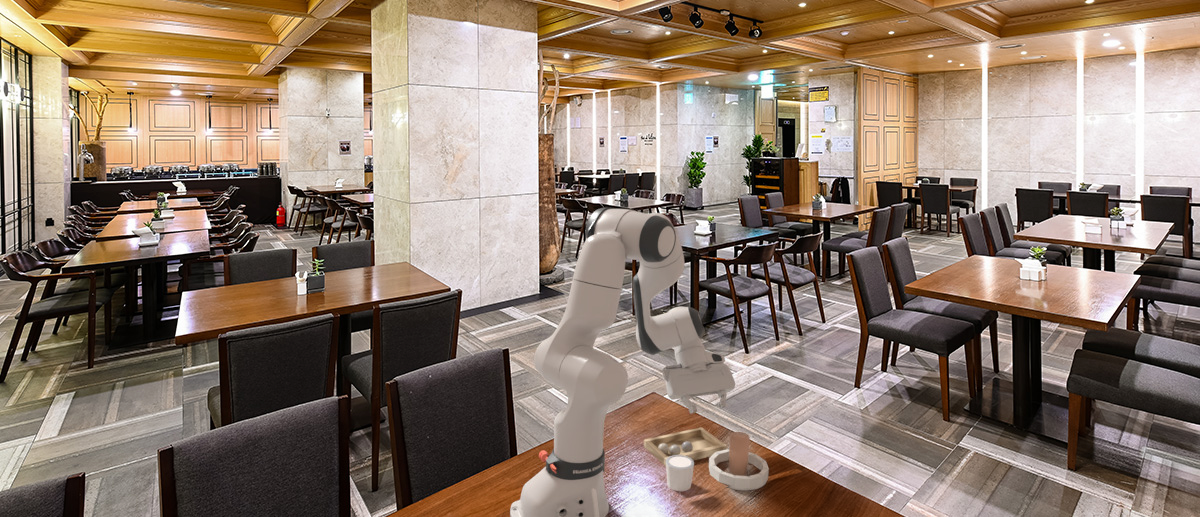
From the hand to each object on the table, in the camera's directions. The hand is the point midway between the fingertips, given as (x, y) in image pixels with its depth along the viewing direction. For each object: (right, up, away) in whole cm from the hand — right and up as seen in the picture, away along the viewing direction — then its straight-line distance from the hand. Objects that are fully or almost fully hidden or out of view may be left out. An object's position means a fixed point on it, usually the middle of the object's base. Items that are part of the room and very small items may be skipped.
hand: (708, 410), depth 165 cm
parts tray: (-6, -12, +2) cm, 14 cm away
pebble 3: (-5, -11, +1) cm, 12 cm away
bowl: (+6, -14, -9) cm, 18 cm away
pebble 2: (-11, -10, -1) cm, 15 cm away
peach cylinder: (+6, -14, -9) cm, 17 cm away
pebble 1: (-12, -12, 0) cm, 17 cm away
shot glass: (-10, -15, -15) cm, 24 cm away
